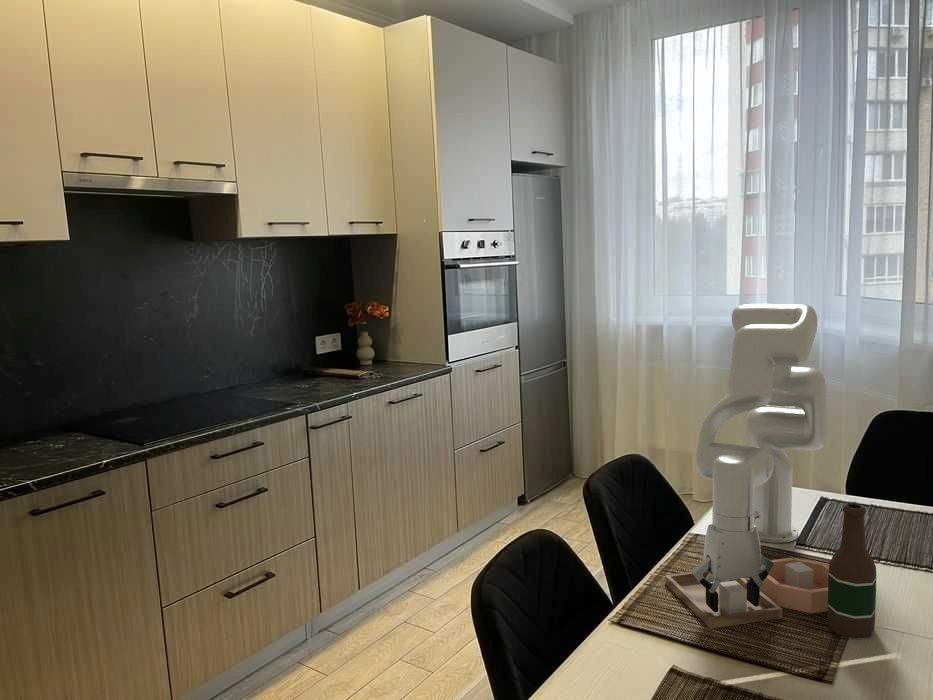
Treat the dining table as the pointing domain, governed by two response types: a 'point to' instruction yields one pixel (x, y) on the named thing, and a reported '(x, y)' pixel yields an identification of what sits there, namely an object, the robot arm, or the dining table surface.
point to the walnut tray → (696, 601)
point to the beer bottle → (852, 580)
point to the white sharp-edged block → (732, 597)
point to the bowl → (793, 595)
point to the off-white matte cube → (799, 575)
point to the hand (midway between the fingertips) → (732, 605)
